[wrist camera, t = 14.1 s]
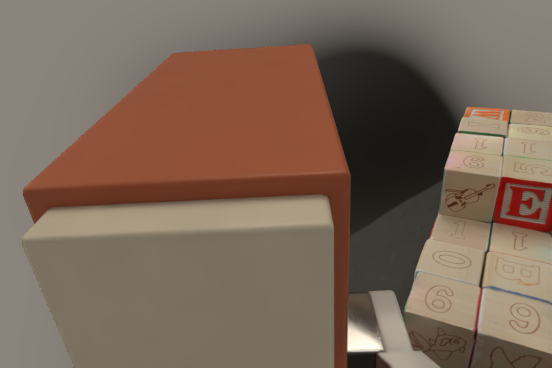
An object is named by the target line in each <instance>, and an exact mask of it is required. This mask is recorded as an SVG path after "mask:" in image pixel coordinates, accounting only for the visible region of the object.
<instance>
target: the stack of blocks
mask: <svg viewBox="0 0 552 368" xmlns="http://www.w3.org/2000/svg"><path fill="white" fill-rule="evenodd" d="M551 234H552V113H545V112H533V111H522V110H512V111H511V112H510V110H506V109H493V108H479V107H467V109H466V112H465V114H464V117H463V118H462V120H461V123H460V126H459V129H458V133H456V134H455V137H454V140H453V143H452V146H451V151H450V153H449V157H448V160H447V162H446V166H445V168H444V176H443V183H442V190H441V197H440V204H439V213H438V215H437V217H436V220H435V223H434V226H433V229H432V231H431V234H430V237H429V239H428V240H427V241H426V243H425V245H424V248H423V250H422V253H421V256H420V259H419V262H418V264H417V267H416V270H415V275H414V283H413V286H412V289H411V291H410V294H409V297H408V300H407V303H406V306H405V308H404V314H403V321H404V324H405V327H406V330H407V333H408V336H409V339H410V342H411V345H412V348H413V351H422V352H423V353H424V354H425V355H426V356H427V357H429V358H430V359H431V360H432V361H433V362H435V363H436V364H437V365H438V366H439V367H440V368H552V237H551Z"/></svg>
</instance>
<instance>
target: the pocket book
mask: <svg viewBox="0 0 552 368" xmlns="http://www.w3.org/2000/svg"><path fill="white" fill-rule="evenodd" d="M350 182H351V176H350V173H349V169H348V166H347V162H346V159H345V155H344V152H343V149H342V145H341V142H340V138H339V135H338V132H337V128H336V125H335V122H334V118H333V115H332V111H331V108H330V105H329V101H328V98H327V95H326V91H325V88H324V84H323V81H322V77H321V74H320V71H319V67H318V64H317V60H316V57H315V54H314V50H313V47H312V45H310V44H305V45H290V46H274V47H259V48H245V49H244V48H243V49H230V50H229V49H228V50H214V51H198V52H182V53H173V54H171V55H170V56H169V57H168V58H167V59H166V60H165V61H164V62H163V63H162V64H160V65H159V66H158V67H157V68H156V69H155V70H154V71H153V72H152V73H150V74H149V75H148V76H147V77H146V78H145V79H144V80H143V81H142V82H141V83H139V84H138V85H137V86H136V87H135V88H134V89H133V90H132V91H131V92H129V93H128V94H127V95H126V96H125V97H124V98H123V99H122V100H121V101H120V102H118V103H117V104H116V105H115V106H114V107H113V108H112V109H111V110H110V111H109V112H107V113H106V114H105V115H104V116H103V117H102V118H101V119H100V120H99V121H98V122H96V123H95V124H94V125H93V126H92V127H91V128H90V129H89V130H87V131H86V132H85V133H84V134H83V135H82V136H81V137H80V138H79V139H78V140H77V141H75V142H74V143H73V144H72V145H71V146H70V147H69V148H68V149H67V150H65V151H64V152H63V153H62V154H61V155H60V156H59V157H58V158H57V159H55V160H54V161H53V162H52V163H51V164H50V165H49V166H48V167H47V168H46V169H44V170H43V171H42V172H41V173H40V174H39V175H38V176H37V177H36V178H34V180H32V181H31V182H30V183H29V184H28V185H27V186H26V187H24V190H23V196H24V199H25V201H26V204H27V206H28V209H29V211H30V214H31V216H32V219H33V221H34V225H33V226H32V228H31V229H30V230H29V231H28V232H27V233H26V234H25V235H24V236H23V238H22V246H23V248H24V251H25V253H26V255H27V258H28V260H29V262H30V265H31V267H32V269H33V272H34V274H35V276H36V279H37V281H38V283H39V286H40V288H41V291H42V293H43V295H44V298H45V300H46V302H47V305H48V307H49V309H50V312H51V314H52V316H53V318H54V321H55V323H56V326H57V328H58V330H59V333H60V335H61V337H62V340H63V342H64V344H65V346H66V349H67V351H68V354H69V356H70V358H71V361H72V363H73V365H74V368H347V347H348V293H349V238H350V234H349V233H350V184H351V183H350Z"/></svg>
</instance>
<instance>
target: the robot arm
mask: <svg viewBox="0 0 552 368" xmlns="http://www.w3.org/2000/svg"><path fill="white" fill-rule="evenodd" d="M73 368H74V367H73ZM347 368H440V367H439V366H438V365H437V364H436V363H435V362H433V361H432V360H431V359H430V358H429V357H427V356H426V355H425V354H424V353H423V352H422V351H413V348H412V345H411V342H410V339H409V336H408V333H407V330H406V327H405V324H404V321H403V317H402V314H401V311H400V308H399V305H398V302H397V299H396V296H395V293H394V292H393V291H392V290H385V291H369V292H352V293H348V347H347Z"/></svg>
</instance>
